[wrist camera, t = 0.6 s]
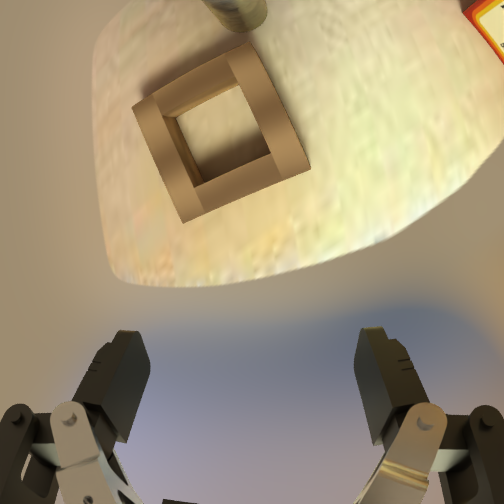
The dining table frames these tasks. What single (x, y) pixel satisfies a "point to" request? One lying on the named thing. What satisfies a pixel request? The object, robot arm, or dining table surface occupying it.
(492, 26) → the baking soda box
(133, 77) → the dining table surface
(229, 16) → the metal tea canister
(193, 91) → the frame
